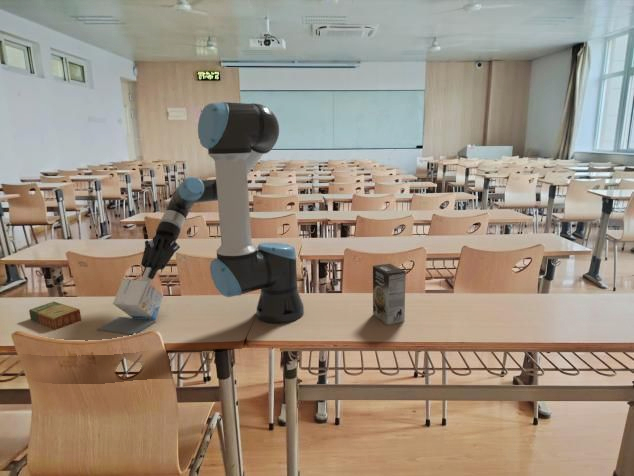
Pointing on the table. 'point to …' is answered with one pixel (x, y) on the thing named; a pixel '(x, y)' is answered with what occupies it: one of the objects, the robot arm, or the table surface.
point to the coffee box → (389, 293)
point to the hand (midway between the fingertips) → (142, 287)
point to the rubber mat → (126, 325)
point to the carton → (55, 315)
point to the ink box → (138, 299)
